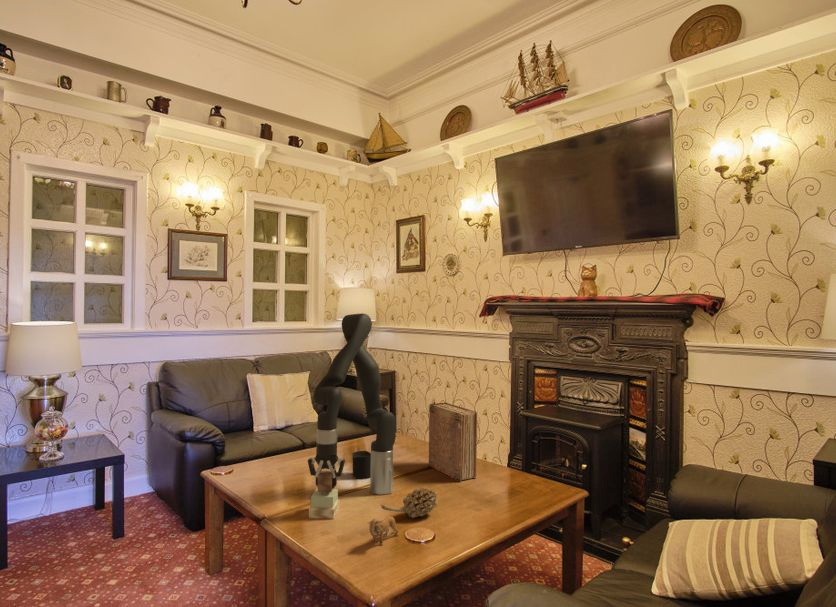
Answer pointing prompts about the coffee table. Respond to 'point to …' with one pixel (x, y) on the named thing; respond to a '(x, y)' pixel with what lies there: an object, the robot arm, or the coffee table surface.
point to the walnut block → (325, 481)
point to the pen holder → (361, 464)
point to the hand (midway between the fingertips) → (326, 486)
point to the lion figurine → (382, 528)
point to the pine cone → (417, 503)
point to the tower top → (324, 499)
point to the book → (453, 440)
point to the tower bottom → (324, 512)
